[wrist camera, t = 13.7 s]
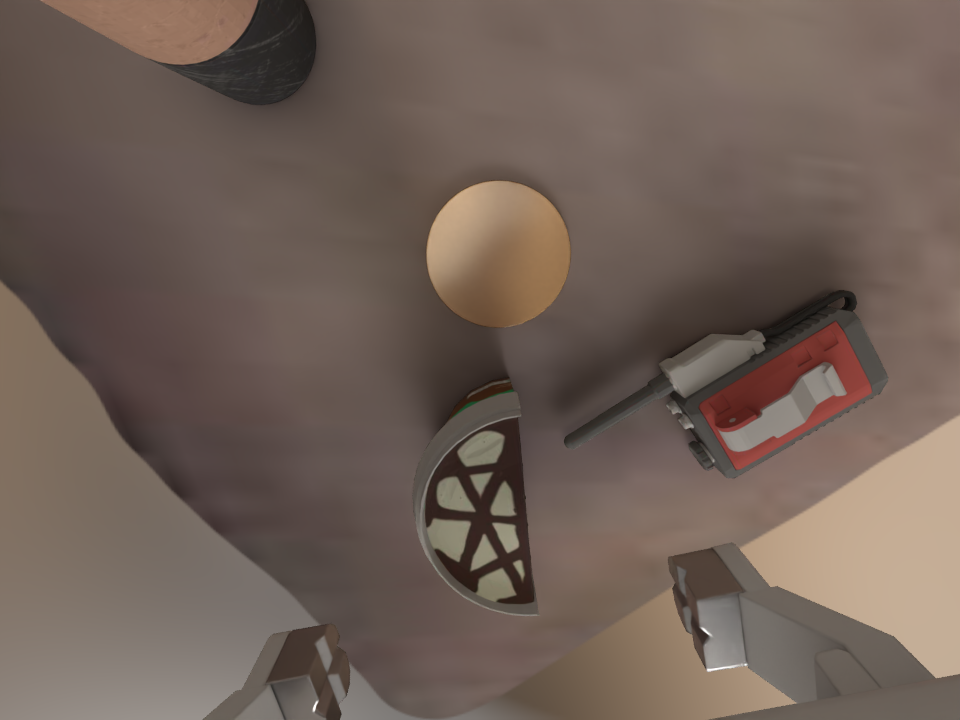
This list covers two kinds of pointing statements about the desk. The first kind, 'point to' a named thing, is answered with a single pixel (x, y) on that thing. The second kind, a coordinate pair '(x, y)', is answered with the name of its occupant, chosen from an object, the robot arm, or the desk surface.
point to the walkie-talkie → (761, 386)
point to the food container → (478, 502)
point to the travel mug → (212, 40)
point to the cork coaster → (498, 253)
